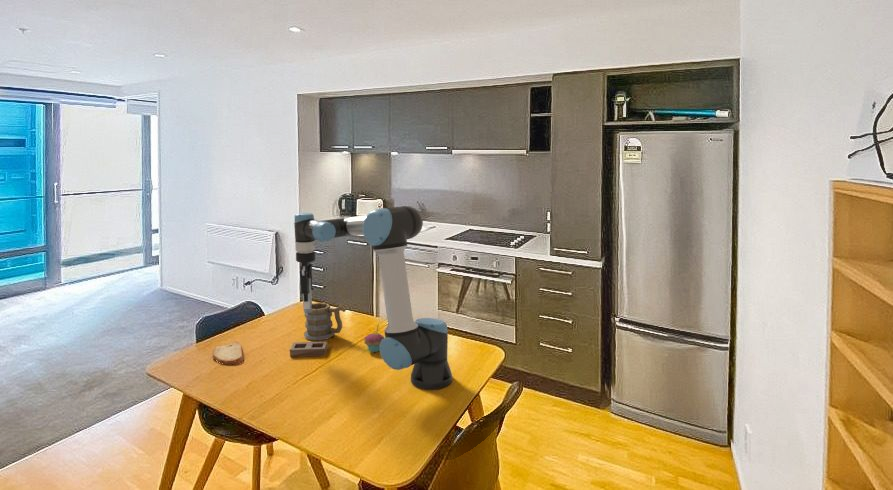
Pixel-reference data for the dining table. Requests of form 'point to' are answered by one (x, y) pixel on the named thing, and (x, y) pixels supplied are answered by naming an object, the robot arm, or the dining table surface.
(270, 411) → the dining table surface
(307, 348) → the hole block
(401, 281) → the robot arm
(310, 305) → the dowel
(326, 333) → the tankard
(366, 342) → the cupcake
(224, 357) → the bread slice
